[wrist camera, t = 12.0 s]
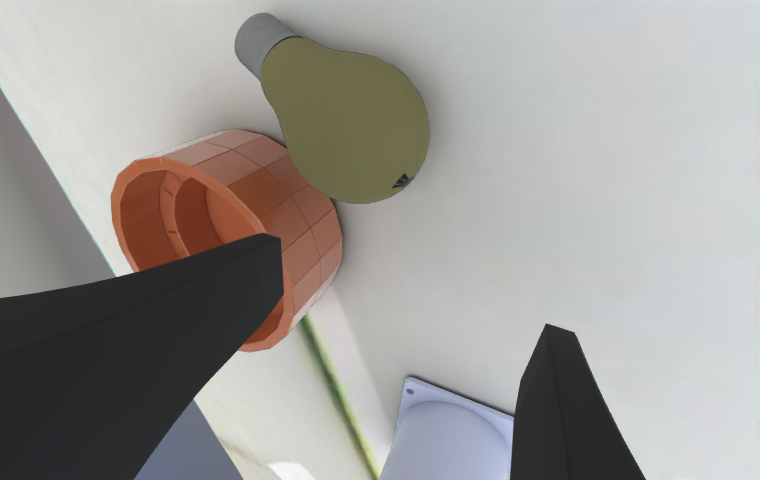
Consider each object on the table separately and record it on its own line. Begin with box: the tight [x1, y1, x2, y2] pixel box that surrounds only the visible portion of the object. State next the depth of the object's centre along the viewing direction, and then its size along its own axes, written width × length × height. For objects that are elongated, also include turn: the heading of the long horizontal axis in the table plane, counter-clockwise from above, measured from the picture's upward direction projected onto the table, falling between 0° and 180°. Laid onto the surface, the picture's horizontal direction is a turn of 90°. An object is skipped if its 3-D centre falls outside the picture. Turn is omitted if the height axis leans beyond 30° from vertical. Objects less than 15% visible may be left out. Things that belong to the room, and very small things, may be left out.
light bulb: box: [235, 13, 429, 204], centre depth 16 cm, size 6×6×10 cm
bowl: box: [111, 129, 343, 352], centre depth 22 cm, size 11×11×6 cm
